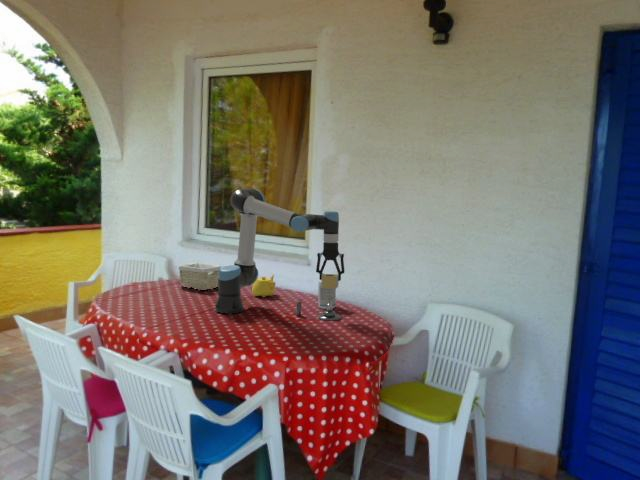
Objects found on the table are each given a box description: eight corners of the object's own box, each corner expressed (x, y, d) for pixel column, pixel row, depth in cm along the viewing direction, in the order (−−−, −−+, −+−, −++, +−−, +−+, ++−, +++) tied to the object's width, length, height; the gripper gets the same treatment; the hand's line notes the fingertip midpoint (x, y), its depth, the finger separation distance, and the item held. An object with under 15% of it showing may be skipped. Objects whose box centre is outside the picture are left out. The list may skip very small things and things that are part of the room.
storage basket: (177, 287, 315) (177, 264, 313) (197, 283, 328) (196, 261, 327) (203, 292, 302) (203, 269, 300) (222, 288, 315) (222, 265, 313)
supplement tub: (338, 308, 271) (339, 282, 270) (324, 310, 266) (325, 283, 264) (328, 304, 279) (329, 279, 278) (314, 306, 274) (315, 280, 272)
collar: (322, 288, 248) (322, 276, 247) (324, 285, 254) (324, 273, 254) (336, 288, 247) (336, 277, 246) (337, 285, 253) (337, 274, 253)
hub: (316, 319, 247) (316, 306, 247) (319, 313, 259) (319, 300, 258) (339, 321, 246) (340, 307, 245) (342, 315, 258) (342, 302, 257)
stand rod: (296, 316, 254) (296, 301, 253) (297, 314, 256) (297, 300, 255) (300, 316, 253) (301, 302, 252) (301, 315, 256) (301, 301, 255)
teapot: (277, 298, 291) (278, 278, 290) (253, 299, 288) (253, 279, 286) (274, 292, 305) (274, 274, 303) (251, 293, 301) (251, 274, 300)
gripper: (310, 242, 245) (309, 287, 248) (350, 243, 243) (348, 289, 245) (312, 240, 253) (311, 284, 256) (351, 241, 250) (350, 285, 253)
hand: (329, 286), depth 250 cm, fingers closed on collar, 7 cm apart
